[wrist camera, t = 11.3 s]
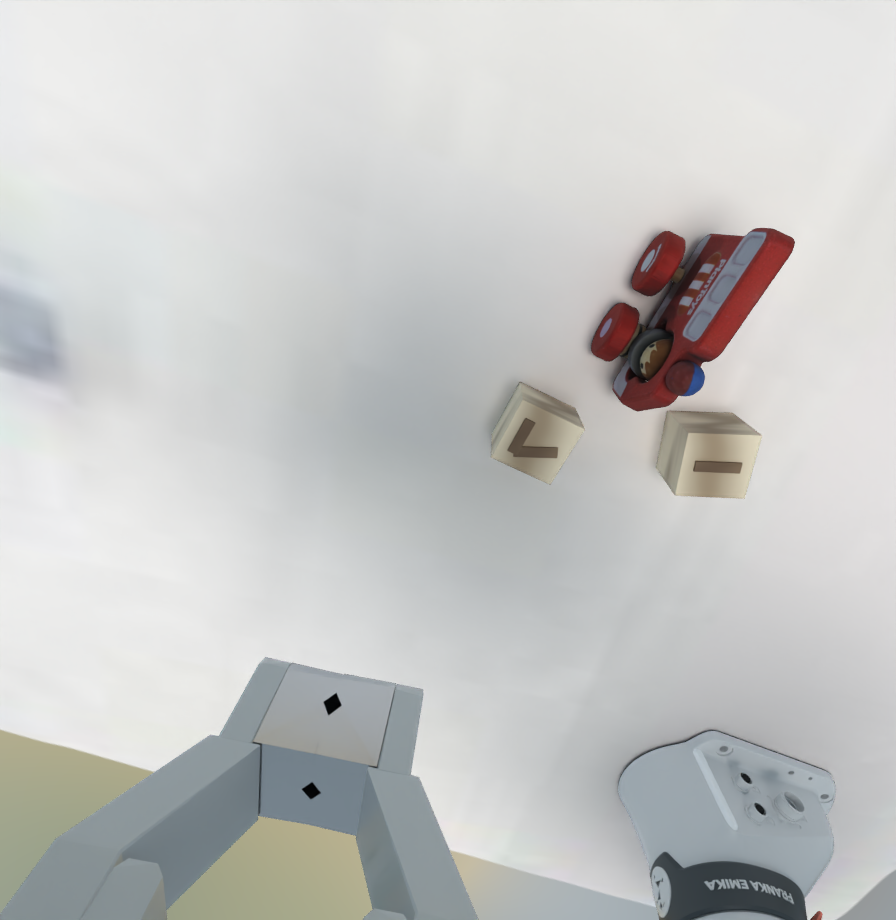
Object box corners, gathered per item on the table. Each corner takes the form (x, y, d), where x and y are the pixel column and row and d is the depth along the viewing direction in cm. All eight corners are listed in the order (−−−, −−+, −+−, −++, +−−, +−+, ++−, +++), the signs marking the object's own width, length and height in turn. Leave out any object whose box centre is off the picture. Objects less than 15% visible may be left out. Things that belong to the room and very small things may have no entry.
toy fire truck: (573, 367, 40) (596, 409, 30) (668, 207, 35) (733, 197, 25) (649, 406, 40) (696, 459, 31) (754, 254, 35) (847, 262, 26)
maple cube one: (731, 412, 40) (763, 436, 35) (717, 469, 42) (745, 499, 37) (666, 410, 40) (689, 433, 36) (655, 467, 42) (675, 496, 38)
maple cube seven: (575, 407, 41) (585, 430, 36) (544, 458, 43) (550, 486, 38) (520, 381, 40) (522, 400, 36) (491, 433, 42) (490, 458, 38)
